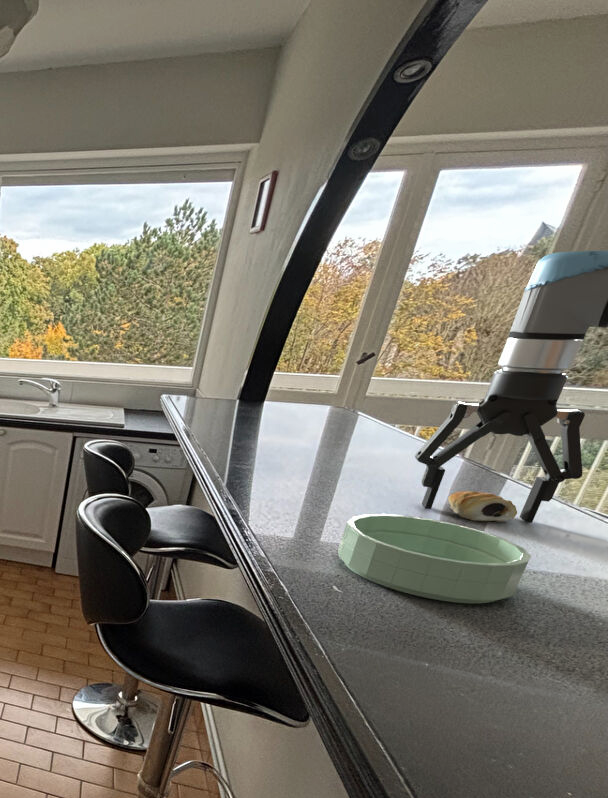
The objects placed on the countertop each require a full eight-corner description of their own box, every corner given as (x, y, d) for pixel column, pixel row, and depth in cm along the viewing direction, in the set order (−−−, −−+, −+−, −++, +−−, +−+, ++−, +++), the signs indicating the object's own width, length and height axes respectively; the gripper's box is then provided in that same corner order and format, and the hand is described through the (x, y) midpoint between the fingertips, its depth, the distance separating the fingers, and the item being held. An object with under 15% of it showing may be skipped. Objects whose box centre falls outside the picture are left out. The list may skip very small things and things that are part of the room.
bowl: (488, 566, 75) (504, 529, 73) (533, 621, 62) (554, 578, 60) (331, 540, 82) (342, 506, 81) (342, 583, 70) (354, 545, 68)
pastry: (432, 502, 99) (440, 480, 97) (481, 506, 97) (490, 484, 96) (465, 520, 90) (475, 497, 89) (519, 525, 89) (530, 501, 87)
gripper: (638, 372, 82) (569, 519, 90) (421, 363, 94) (378, 495, 102) (666, 377, 76) (590, 534, 84) (431, 367, 88) (384, 506, 96)
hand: (474, 513), depth 93 cm, fingers open, 11 cm apart
